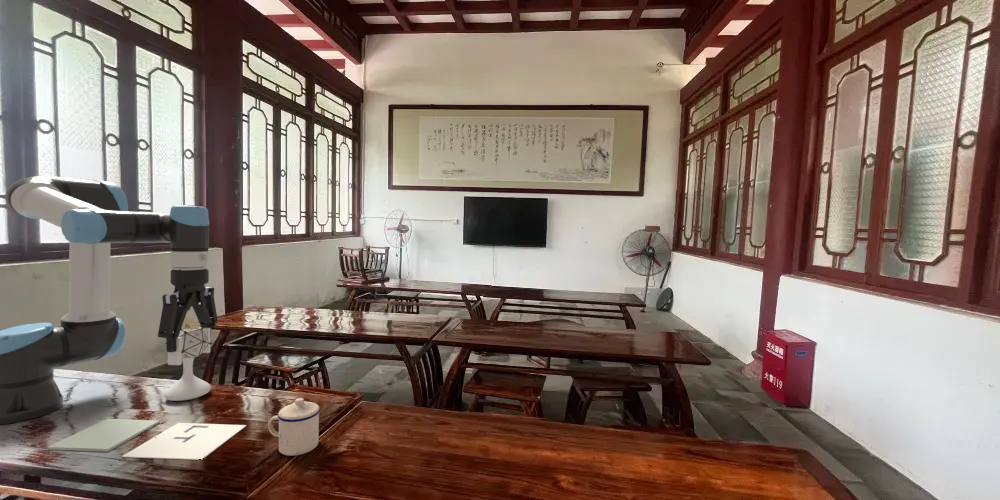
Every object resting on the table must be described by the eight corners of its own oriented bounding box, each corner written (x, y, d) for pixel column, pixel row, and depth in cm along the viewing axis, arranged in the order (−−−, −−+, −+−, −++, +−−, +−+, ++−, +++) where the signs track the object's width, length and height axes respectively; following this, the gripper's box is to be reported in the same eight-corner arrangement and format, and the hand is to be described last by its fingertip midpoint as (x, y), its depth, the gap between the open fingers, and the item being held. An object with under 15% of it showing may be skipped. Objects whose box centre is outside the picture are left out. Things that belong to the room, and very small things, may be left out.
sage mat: (47, 449, 93) (47, 446, 93) (106, 421, 107) (106, 418, 107) (108, 451, 93) (108, 449, 93) (159, 422, 107) (159, 420, 107)
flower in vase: (217, 395, 126) (218, 315, 124) (173, 408, 116) (172, 321, 115) (198, 385, 132) (198, 309, 131) (155, 396, 123) (154, 315, 122)
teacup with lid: (326, 437, 103) (326, 392, 102) (308, 457, 93) (308, 408, 93) (279, 435, 103) (279, 390, 102) (256, 455, 94) (257, 406, 93)
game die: (190, 376, 100) (180, 351, 94) (163, 360, 101) (152, 335, 95) (222, 350, 107) (215, 325, 101) (197, 336, 108) (188, 311, 102)
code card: (121, 457, 91) (121, 456, 91) (178, 423, 107) (178, 422, 107) (201, 460, 91) (201, 458, 91) (246, 425, 107) (246, 425, 107)
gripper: (169, 273, 89) (169, 373, 91) (234, 265, 111) (233, 346, 112) (135, 272, 89) (136, 372, 91) (206, 264, 111) (206, 345, 112)
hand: (190, 358), depth 101 cm, fingers closed on game die, 9 cm apart
